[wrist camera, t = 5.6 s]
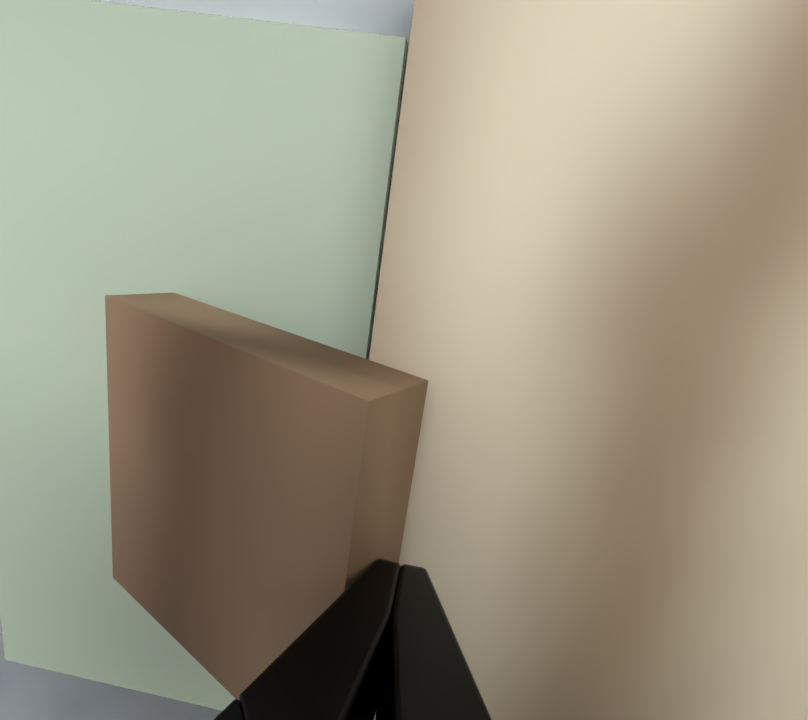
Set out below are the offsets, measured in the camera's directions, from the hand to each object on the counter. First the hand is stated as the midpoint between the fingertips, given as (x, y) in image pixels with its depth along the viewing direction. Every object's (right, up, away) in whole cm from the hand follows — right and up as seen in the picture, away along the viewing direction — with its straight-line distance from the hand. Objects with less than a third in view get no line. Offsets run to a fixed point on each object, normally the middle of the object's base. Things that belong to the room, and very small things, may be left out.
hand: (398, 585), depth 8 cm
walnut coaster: (-3, +1, +2) cm, 4 cm away
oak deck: (+5, 0, +4) cm, 6 cm away
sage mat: (-6, +2, +4) cm, 8 cm away
